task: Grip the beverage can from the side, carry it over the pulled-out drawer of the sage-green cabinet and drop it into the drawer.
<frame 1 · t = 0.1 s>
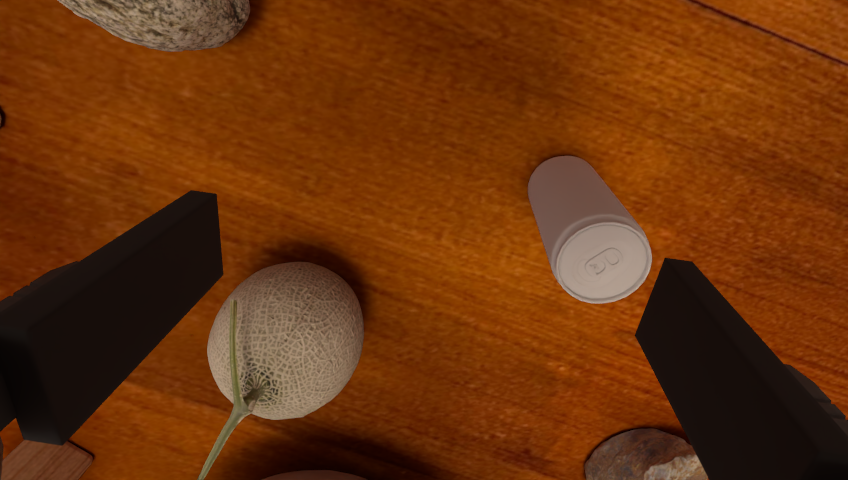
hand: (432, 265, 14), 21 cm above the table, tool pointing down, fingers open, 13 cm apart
beverage can: (560, 184, 34), on the table
oyster shell: (637, 468, 45), on the table
decorative item: (59, 452, 52), on the table
fruit: (313, 289, 40), on the table
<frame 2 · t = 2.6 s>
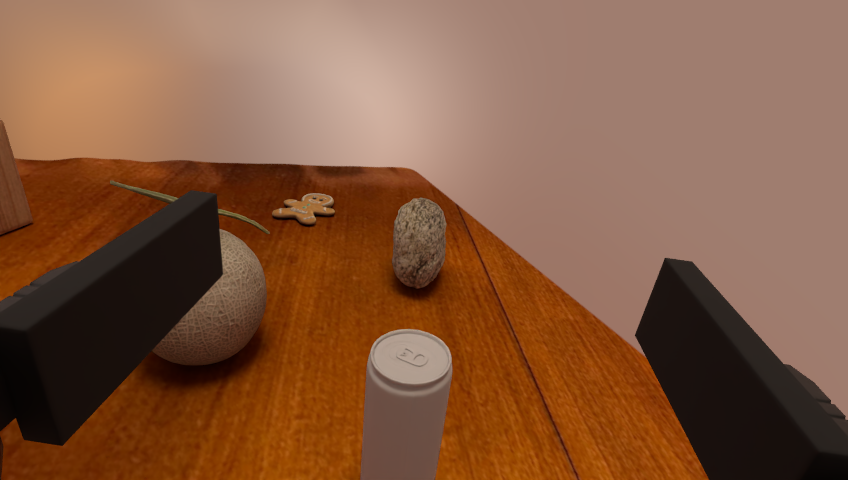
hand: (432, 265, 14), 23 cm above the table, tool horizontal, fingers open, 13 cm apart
stone: (415, 279, 57), on the table
cookie: (308, 210, 71), on the table
fruit: (212, 348, 43), on the table
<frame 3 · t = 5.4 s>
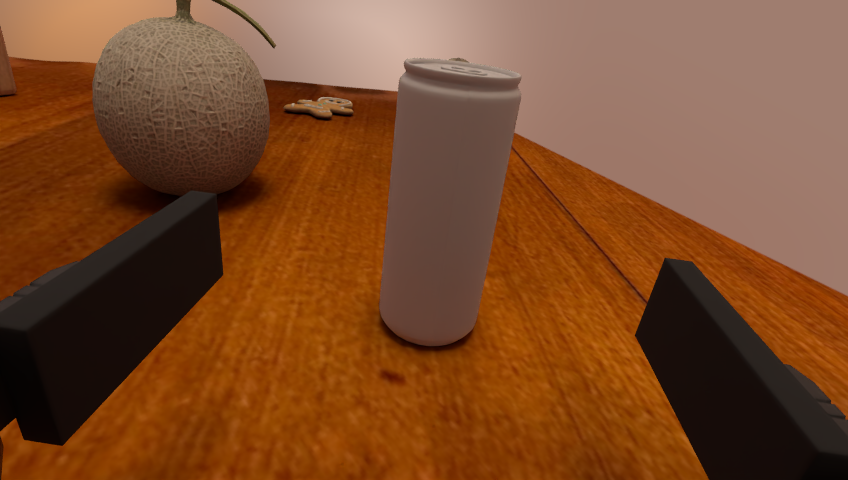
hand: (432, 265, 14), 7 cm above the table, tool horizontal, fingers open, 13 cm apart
cookie: (324, 111, 63), on the table
beverage can: (426, 323, 24), on the table
fruit: (202, 191, 35), on the table
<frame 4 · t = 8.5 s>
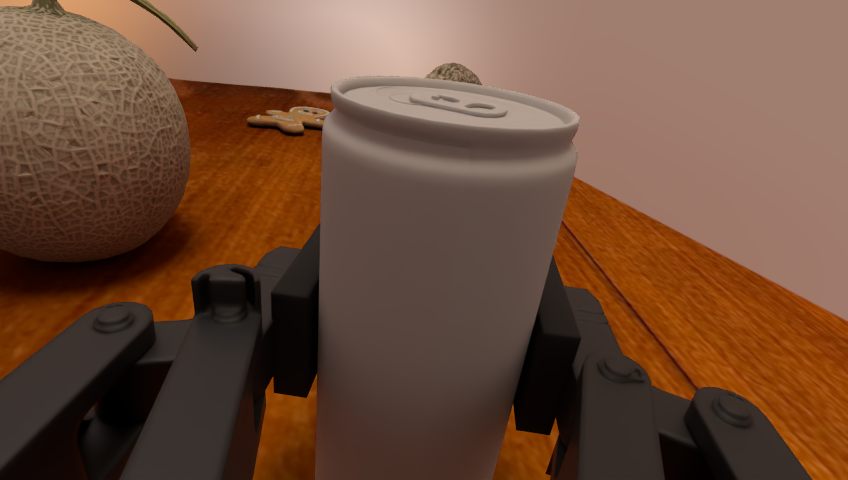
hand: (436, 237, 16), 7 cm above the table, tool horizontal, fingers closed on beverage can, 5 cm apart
stone: (437, 193, 39), on the table
cookie: (296, 123, 54), on the table
fruit: (101, 248, 26), on the table
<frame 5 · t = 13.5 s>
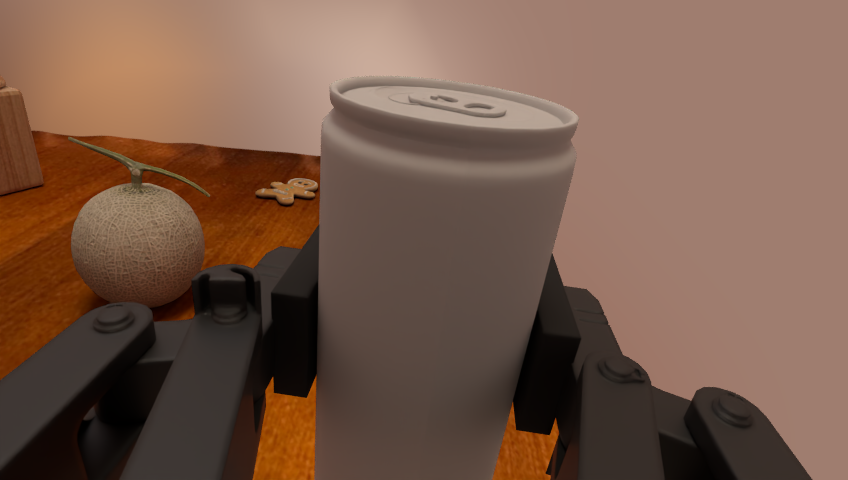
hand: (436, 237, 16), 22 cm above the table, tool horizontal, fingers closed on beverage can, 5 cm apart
cookie: (291, 193, 75), on the table
decorative item: (5, 187, 65), on the table
fruit: (156, 297, 47), on the table
when the fingers open (13 cm above the table, at t = 18.9 s): beverage can drops 4 cm, resting on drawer.
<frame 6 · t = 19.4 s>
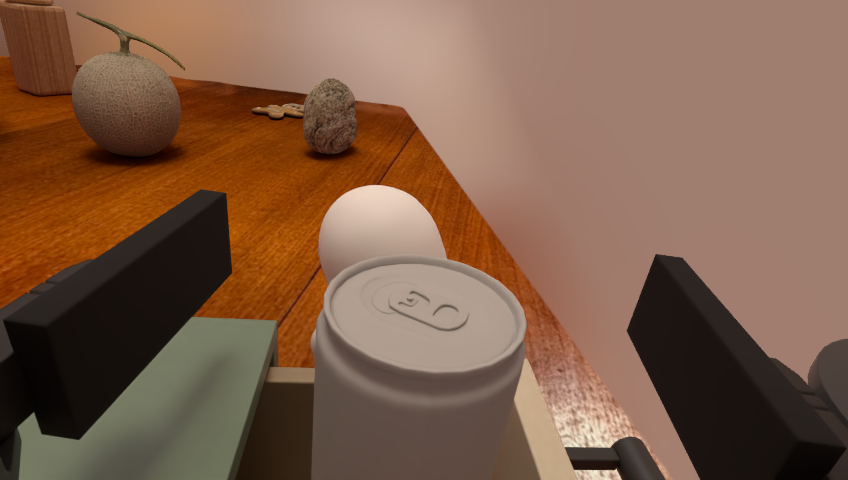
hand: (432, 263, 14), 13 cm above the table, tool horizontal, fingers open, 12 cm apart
figurine: (381, 386, 28), on the table
stone: (330, 153, 68), on the table
cookie: (284, 113, 85), on the table
decorative item: (50, 92, 79), on the table
fruit: (141, 155, 58), on the table
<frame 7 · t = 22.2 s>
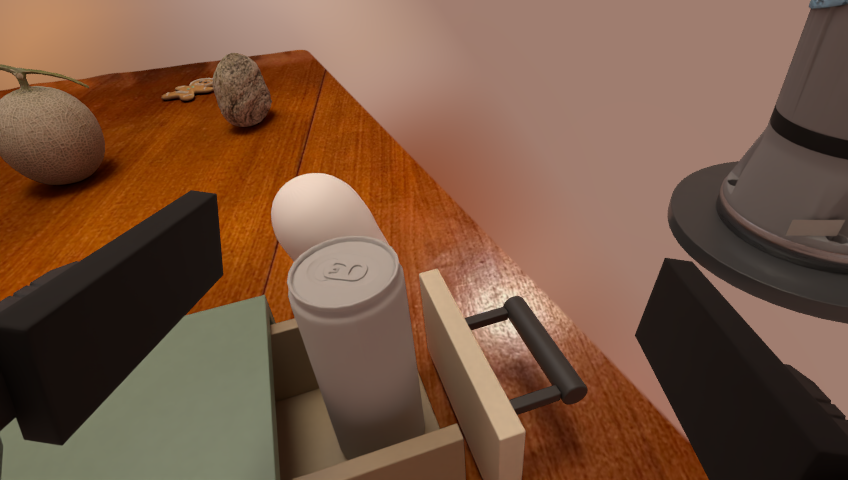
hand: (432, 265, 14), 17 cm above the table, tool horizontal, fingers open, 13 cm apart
figurine: (354, 313, 37), on the table
stone: (252, 123, 72), on the table
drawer: (398, 401, 25), point 4 cm above the table, slide at 8.8 cm, touching beverage can
cookie: (194, 92, 86), on the table
beverage can: (383, 435, 26), point 2 cm above the table, touching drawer
fruit: (80, 178, 61), on the table
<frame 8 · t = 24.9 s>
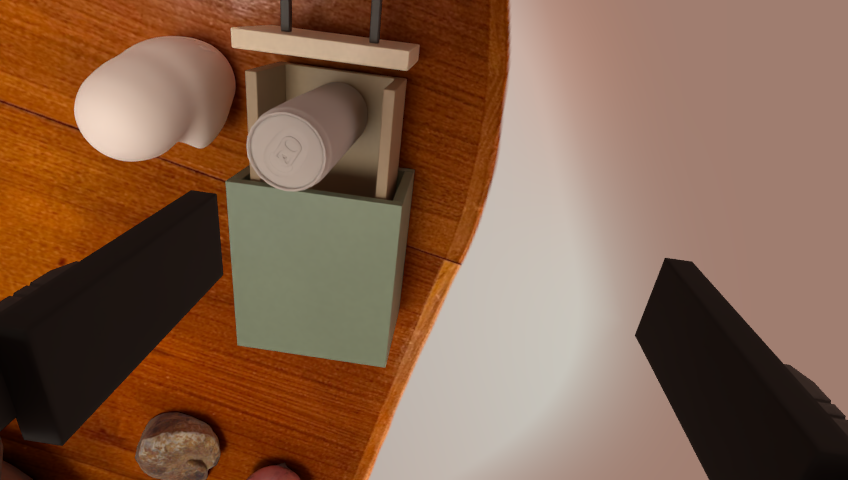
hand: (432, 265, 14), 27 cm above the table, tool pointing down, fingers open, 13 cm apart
cabinet: (339, 234, 44), on the table
figurine: (201, 84, 39), on the table
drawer: (331, 101, 34), point 4 cm above the table, slide at 8.8 cm, touching beverage can
beverage can: (340, 111, 37), point 2 cm above the table, touching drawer
oyster shell: (188, 444, 59), on the table
onion: (283, 475, 60), on the table
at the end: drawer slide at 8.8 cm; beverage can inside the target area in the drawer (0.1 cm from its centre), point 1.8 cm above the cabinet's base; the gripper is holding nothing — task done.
